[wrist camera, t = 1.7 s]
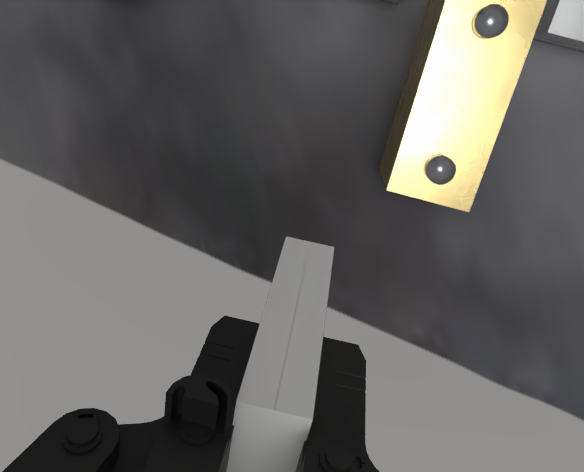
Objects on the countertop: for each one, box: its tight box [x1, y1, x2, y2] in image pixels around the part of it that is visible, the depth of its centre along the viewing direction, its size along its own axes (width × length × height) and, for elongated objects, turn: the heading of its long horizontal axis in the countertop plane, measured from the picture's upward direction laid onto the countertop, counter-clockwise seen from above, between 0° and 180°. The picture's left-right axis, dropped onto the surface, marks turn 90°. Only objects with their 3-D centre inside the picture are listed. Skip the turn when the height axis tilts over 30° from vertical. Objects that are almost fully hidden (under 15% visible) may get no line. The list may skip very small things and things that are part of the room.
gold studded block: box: [378, 0, 547, 212], centre depth 31 cm, size 12×5×9 cm, turn 166°
